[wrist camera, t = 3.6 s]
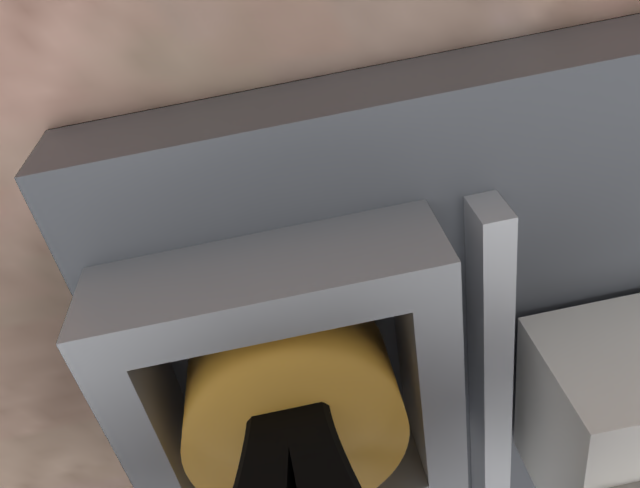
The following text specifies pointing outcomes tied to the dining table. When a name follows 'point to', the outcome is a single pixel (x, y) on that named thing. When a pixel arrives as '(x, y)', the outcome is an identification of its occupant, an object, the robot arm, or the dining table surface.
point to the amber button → (295, 400)
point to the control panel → (350, 234)
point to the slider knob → (580, 395)
